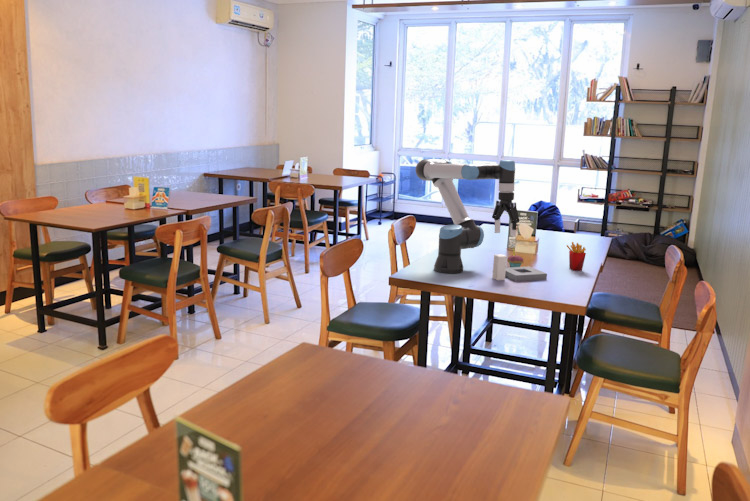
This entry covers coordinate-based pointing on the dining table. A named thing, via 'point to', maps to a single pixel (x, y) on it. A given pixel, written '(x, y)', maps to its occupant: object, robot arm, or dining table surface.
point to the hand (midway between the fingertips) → (504, 234)
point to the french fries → (576, 257)
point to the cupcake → (515, 260)
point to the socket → (524, 274)
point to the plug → (499, 267)
